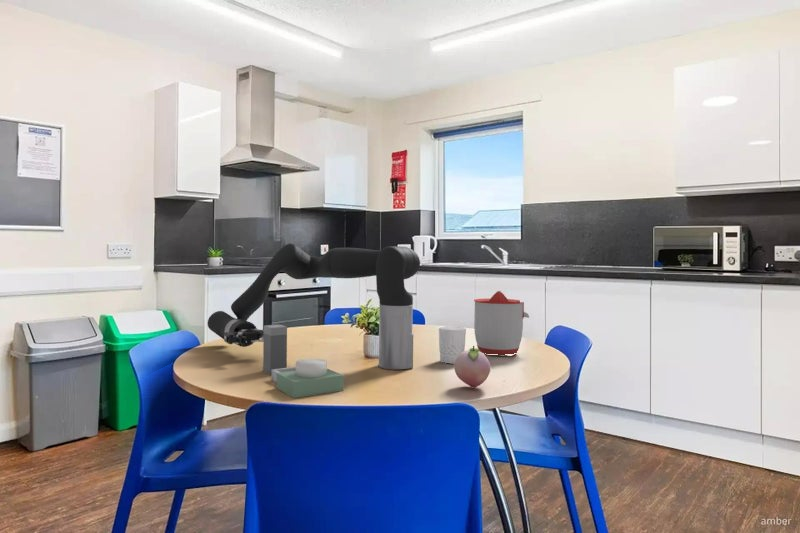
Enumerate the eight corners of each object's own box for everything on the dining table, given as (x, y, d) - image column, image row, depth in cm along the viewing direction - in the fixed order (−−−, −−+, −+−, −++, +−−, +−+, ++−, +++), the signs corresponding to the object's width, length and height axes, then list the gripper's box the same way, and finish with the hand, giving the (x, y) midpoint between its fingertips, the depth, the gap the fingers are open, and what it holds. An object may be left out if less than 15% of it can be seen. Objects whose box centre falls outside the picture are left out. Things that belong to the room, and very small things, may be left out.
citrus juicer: (534, 359, 160) (535, 293, 160) (476, 358, 161) (477, 292, 160) (522, 349, 176) (523, 289, 175) (470, 348, 176) (471, 288, 176)
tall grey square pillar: (263, 371, 139) (263, 325, 139) (279, 369, 142) (279, 324, 142) (270, 374, 135) (270, 327, 135) (286, 372, 138) (287, 326, 138)
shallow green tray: (263, 380, 129) (263, 354, 129) (308, 374, 136) (309, 349, 136) (294, 398, 114) (294, 368, 114) (343, 390, 121) (343, 362, 121)
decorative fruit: (452, 382, 130) (453, 342, 129) (486, 383, 129) (487, 342, 129) (455, 393, 120) (456, 349, 120) (491, 393, 120) (492, 349, 120)
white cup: (469, 361, 156) (470, 327, 156) (457, 366, 149) (458, 330, 149) (445, 358, 160) (446, 325, 160) (433, 362, 153) (433, 328, 153)
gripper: (216, 321, 156) (234, 328, 143) (263, 318, 165) (284, 324, 151) (216, 346, 157) (234, 356, 143) (263, 342, 165) (284, 350, 152)
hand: (260, 339), depth 147 cm, fingers open, 8 cm apart
